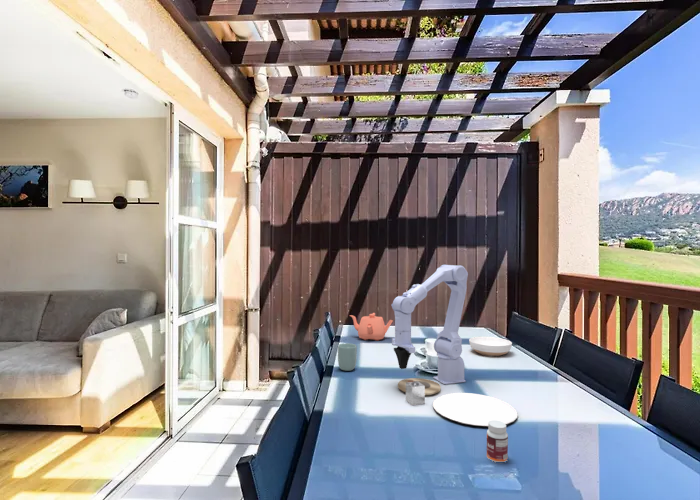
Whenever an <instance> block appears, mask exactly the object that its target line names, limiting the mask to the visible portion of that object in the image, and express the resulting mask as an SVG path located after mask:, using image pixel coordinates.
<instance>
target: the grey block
mask: <svg viewBox="0 0 700 500" xmlns="http://www.w3.org/2000/svg"><path fill="white" fill-rule="evenodd" d="M425 396H426V395H425V386H424V385H423V384H421V383H420V382H418V381H416V382H408V383H406V392H405V402H406V403H408V404H409V405H411V406H419V405H425V402H426V401H425V400H426V399H425V398H426V397H425Z"/></svg>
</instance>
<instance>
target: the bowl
mask: <svg viewBox="0 0 700 500" xmlns="http://www.w3.org/2000/svg"><path fill="white" fill-rule="evenodd" d="M468 340H469V341H468V342H469V346H470V348H471V349H472V350H473V351H474V352H476V353H478V354H479V355H483V356H487V357H499V356H503V355H506V354H508V353H509V352H510V351H511V350H512V346H513V342H512V341H510V340H509V339H505V338H501V337H494V336H472V337H470V338H469V339H468Z"/></svg>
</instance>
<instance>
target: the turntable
mask: <svg viewBox="0 0 700 500" xmlns="http://www.w3.org/2000/svg"><path fill="white" fill-rule="evenodd" d="M416 381H418V382H420V383H421V384H423V385H424V386H425V396H430V395H435V394H438V393H439V392H441V387H442V386H441V385H440V383H439V382H437V381H434V380H431V379H426V378H419V377H417V378H415V377H413V378H412V377H411V378H410V377H409V378H405V379H402V380H399V381H398V382H397V388H398V389H399V390H400V391H402V392H404V393H406V383H408V382H416Z"/></svg>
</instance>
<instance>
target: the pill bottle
mask: <svg viewBox="0 0 700 500" xmlns="http://www.w3.org/2000/svg"><path fill="white" fill-rule="evenodd" d="M487 428H488V429H487V430H486V458H487V459H488V460H489V459H490V460H492V461H491V462H493V461H494V462H493V463H496V462H505V461H507V462H508V460H509V458H508V456H509V455H508V450H509V447H508V446H509V433H508V432H507V425H506V424H505V423H503V422H501V421H496V420H492V421H489V423H488V427H487ZM507 459H508V460H507ZM490 460H489V461H490ZM505 463H506V462H505Z"/></svg>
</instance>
